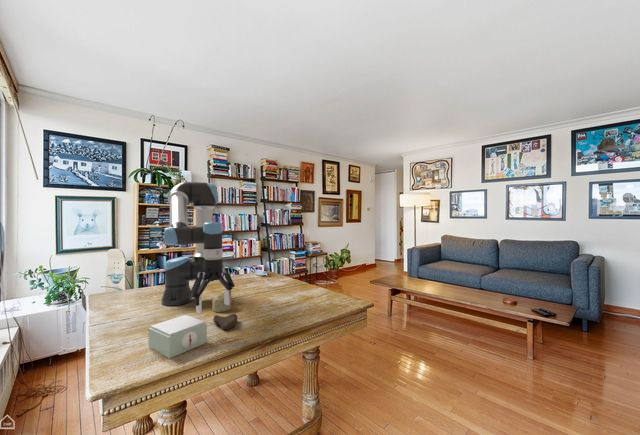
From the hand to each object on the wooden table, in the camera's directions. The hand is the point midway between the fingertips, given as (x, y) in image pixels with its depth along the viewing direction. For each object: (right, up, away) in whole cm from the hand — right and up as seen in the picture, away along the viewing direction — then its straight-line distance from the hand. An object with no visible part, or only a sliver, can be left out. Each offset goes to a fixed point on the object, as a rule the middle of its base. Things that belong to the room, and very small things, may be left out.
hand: (213, 308), depth 117 cm
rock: (-1, -8, 0) cm, 8 cm away
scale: (-7, -8, -15) cm, 19 cm away
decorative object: (-5, -9, +19) cm, 21 cm away
